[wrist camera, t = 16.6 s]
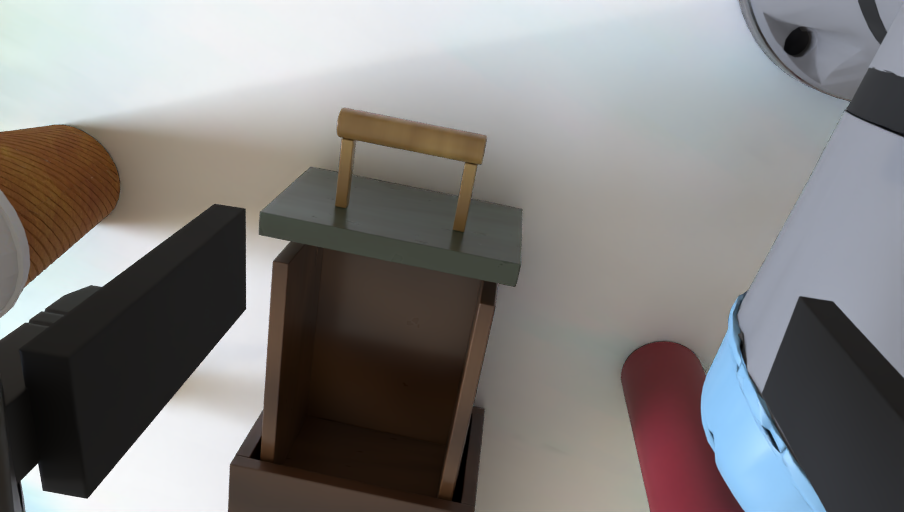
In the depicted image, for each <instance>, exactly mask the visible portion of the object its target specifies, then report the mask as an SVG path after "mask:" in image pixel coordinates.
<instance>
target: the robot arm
mask: <svg viewBox="0 0 904 512" xmlns="http://www.w3.org/2000/svg"><path fill="white" fill-rule="evenodd" d="M739 4H740V7H741V10H742V14H743V16H744V19H745V21H746V24H747V26H748V28H749V30H750V32H751V34H752V35H753V37H754V39H755V41H756V42H757V44H758V45H759V46H760V48H761V49H762V51H763V52H764V53H765V54H766V55H767V56H768V57H769V59H770V60H771V61H772V62H773V63H774V64H775V65H777V66H778V67H779V68H780V69H781V70H782V71H783V72H785V73H786V74H788V75H789V76H791V77H792V78H794V79H795V80H797V81H799V82H801V83H803V84H805V85H806V86H808V87H811V88H813V89H816V90H818V91H821V92H823V93H826V94H828V95H831V96H833V97H836V98H840V99H843V100H847V101H851V102H850V104H849V106H848V107H847V110H844V112H843V114H842V116H841V118H840V120H839V122H838V124H837V126H836V128H835V130H834V132H833V134H832V135H831V137H830V139H829V141H828V143H827V145H826V147H825V149H824V151H823V153H822V155H821V157H820V159H819V161H818V162H817V164H816V166H815V168H814V170H813V172H812V174H811V176H810V178H809V180H808V182H807V184H806V185H805V187H804V189H803V191H802V193H801V195H800V196H799V198H798V200H797V202H796V204H795V206H794V207H793V209H792V211H791V213H790V215H789V217H788V218H787V220H786V222H785V224H784V226H783V228H782V229H781V231H780V233H779V235H778V237H777V239H776V240H775V242H774V244H773V246H772V248H771V249H770V251H769V253H768V255H767V257H766V259H765V260H764V262H763V264H762V266H761V268H760V270H759V271H758V273H757V275H756V277H755V279H754V281H753V282H752V284H751V286H750V288H749V290H748V291H746V292H745V293H744V294H742V295H739V296H738V298H737V300H736V301H735V303H734V304H733V306H732V308H731V311H730V315H729V319H728V330H727V333H726V335H725V337H724V339H723V341H722V343H721V346H720V348H719V350H718V352H717V354H716V356H715V359H714V361H713V363H712V365H711V367H710V369H709V371H708V373H707V375H706V378H705V381H704V385H703V389H702V395H701V417H702V424H703V428H704V431H705V434H706V437H707V441H708V443H709V444H710V446H711V448H712V449H713V451H714V452H715V462H716V465H717V468H718V470H719V472H720V474H721V475H722V477H723V479H724V481H725V482H726V484H727V486H728V487H729V489H730V490H731V492H732V494H733V495H734V497H735V499H736V500H737V501H738V503H739V504H740V506H741V507H742V509H743V510H744V511H745V512H904V0H739ZM245 310H246V209H244V208H238V207H231V206H225V205H219V204H214V205H212V206H211V207H210V208H208V209H207V210H206V211H204V212H203V213H202V214H200V215H199V216H197V217H196V218H195V219H193V220H192V221H191V222H189V223H188V224H187V225H185V226H184V227H183V228H181V229H180V230H179V231H177V232H176V233H175V234H173V235H172V236H171V237H169V238H168V239H166V240H165V241H164V242H162V243H161V244H160V245H158V246H157V247H156V248H154V249H153V250H152V251H150V252H149V253H148V254H146V255H145V256H144V257H142V258H141V259H139V260H138V261H137V262H135V263H134V264H133V265H131V266H130V267H129V268H127V269H126V270H125V271H123V272H122V273H121V274H119V275H118V276H117V277H115V278H114V279H113V280H111V281H110V282H108V283H107V284H106V285H104V286H103V287H98V286H92V285H91V286H88V287H85V288H83V289H80V290H77V291H75V292H72V293H69V294H67V295H64V296H63V297H61V298H60V299H59V300H57V301H56V302H54V303H53V304H51V305H50V306H49V307H47V308H46V309H45V312H42V311H41V312H40V313H38V314H37V315H36V316H34V317H33V318H31V319H30V320H29V323H24V324H23V325H21V326H20V327H18V328H17V329H16V330H14V331H13V332H11V333H10V334H8V335H7V336H6V337H4V338H3V339H1V340H0V512H25V505H24V497H23V491H22V486H21V480H22V479H23V478H24V477H25V476H26V475H27V474H28V473H29V472H30V471H31V470H32V469H33V468H34V467H35V466H36V465H37V464H38V465H39V471H40V476H41V482H42V488H43V491H48V492H53V493H59V494H65V495H70V496H76V497H81V498H87V499H88V497H89V496H90V495H91V494H92V493H93V491H94V490H95V489H96V488H97V487H98V485H99V484H100V483H101V482H102V481H103V479H104V478H105V477H106V476H107V475H108V474H109V472H110V471H111V470H112V469H113V468H114V466H115V465H116V464H117V463H118V462H119V460H120V459H121V458H122V457H123V456H124V454H125V453H126V452H127V451H128V450H129V448H130V447H131V446H132V445H133V444H134V442H135V441H136V440H137V439H138V438H139V436H140V435H141V434H142V433H143V432H144V430H145V429H146V428H147V427H148V426H149V424H150V423H151V422H152V421H153V420H154V418H155V417H156V416H157V415H158V414H159V412H160V411H161V410H162V409H163V408H164V406H165V405H166V404H167V403H168V402H169V401H170V399H171V398H172V397H173V396H174V395H175V393H176V392H177V391H178V390H179V389H180V387H181V386H182V385H183V384H184V383H185V381H186V380H187V379H188V378H189V377H190V375H191V374H192V373H193V372H194V371H195V369H196V368H197V367H198V366H199V365H200V363H201V362H202V361H203V360H204V359H205V357H206V356H207V355H208V354H209V353H210V351H211V350H212V349H213V348H214V347H215V345H216V344H217V343H218V342H219V341H220V339H221V338H222V337H223V336H224V335H225V333H226V332H227V331H228V330H229V329H230V328H231V326H232V325H233V324H234V323H235V322H236V320H237V319H238V318H239V317H240V316H241V314H242V313H243V312H244V311H245Z"/></svg>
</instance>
